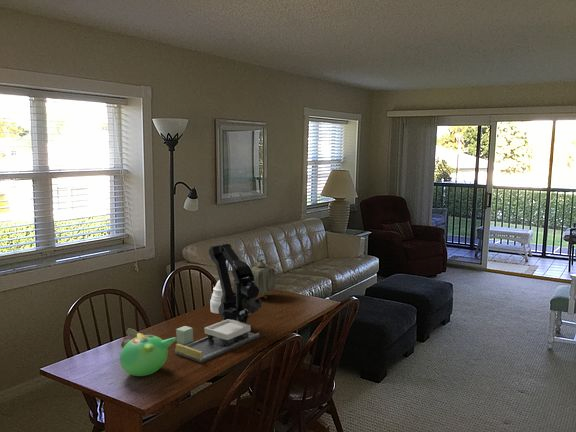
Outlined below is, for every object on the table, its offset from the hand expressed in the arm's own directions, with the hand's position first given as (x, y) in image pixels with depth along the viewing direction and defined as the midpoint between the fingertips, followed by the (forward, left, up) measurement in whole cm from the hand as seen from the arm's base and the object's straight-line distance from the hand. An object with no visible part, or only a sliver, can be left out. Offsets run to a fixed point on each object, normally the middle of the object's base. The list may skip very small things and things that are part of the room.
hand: (243, 326), depth 221 cm
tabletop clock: (-31, +48, -4) cm, 57 cm away
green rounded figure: (-2, -50, -4) cm, 50 cm away
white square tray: (0, -9, -2) cm, 10 cm away
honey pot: (-34, +20, -4) cm, 40 cm away
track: (0, -15, -4) cm, 16 cm away
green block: (-15, -21, -4) cm, 26 cm away
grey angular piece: (-26, -40, -4) cm, 48 cm away
